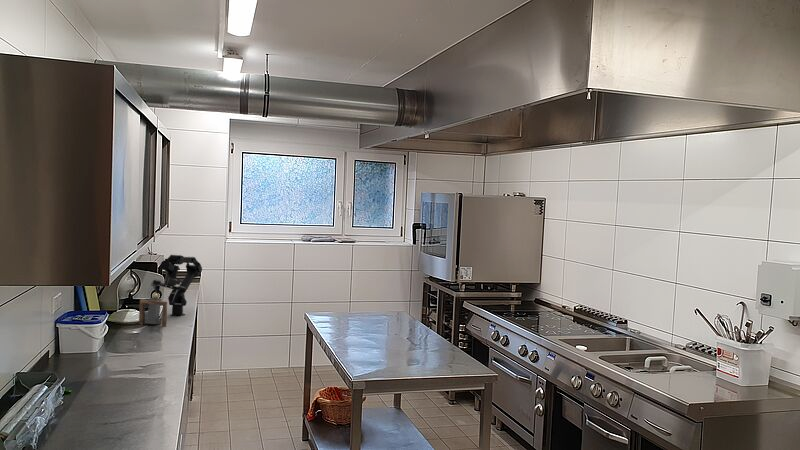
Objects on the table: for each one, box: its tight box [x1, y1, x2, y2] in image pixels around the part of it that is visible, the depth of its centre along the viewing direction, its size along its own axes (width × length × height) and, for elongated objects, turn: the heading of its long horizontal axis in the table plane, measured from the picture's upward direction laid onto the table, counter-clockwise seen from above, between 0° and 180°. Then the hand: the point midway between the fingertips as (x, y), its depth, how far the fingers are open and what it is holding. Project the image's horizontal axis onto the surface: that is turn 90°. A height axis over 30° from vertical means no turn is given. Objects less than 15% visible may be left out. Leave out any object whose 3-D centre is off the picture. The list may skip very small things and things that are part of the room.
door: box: [144, 310, 148, 324], centre depth 343 cm, size 12×1×6 cm, turn 166°
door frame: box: [138, 298, 168, 328], centre depth 334 cm, size 2×16×14 cm, turn 76°
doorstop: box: [144, 292, 162, 325], centre depth 337 cm, size 6×6×17 cm
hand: (164, 300), depth 348 cm, fingers open, 9 cm apart
